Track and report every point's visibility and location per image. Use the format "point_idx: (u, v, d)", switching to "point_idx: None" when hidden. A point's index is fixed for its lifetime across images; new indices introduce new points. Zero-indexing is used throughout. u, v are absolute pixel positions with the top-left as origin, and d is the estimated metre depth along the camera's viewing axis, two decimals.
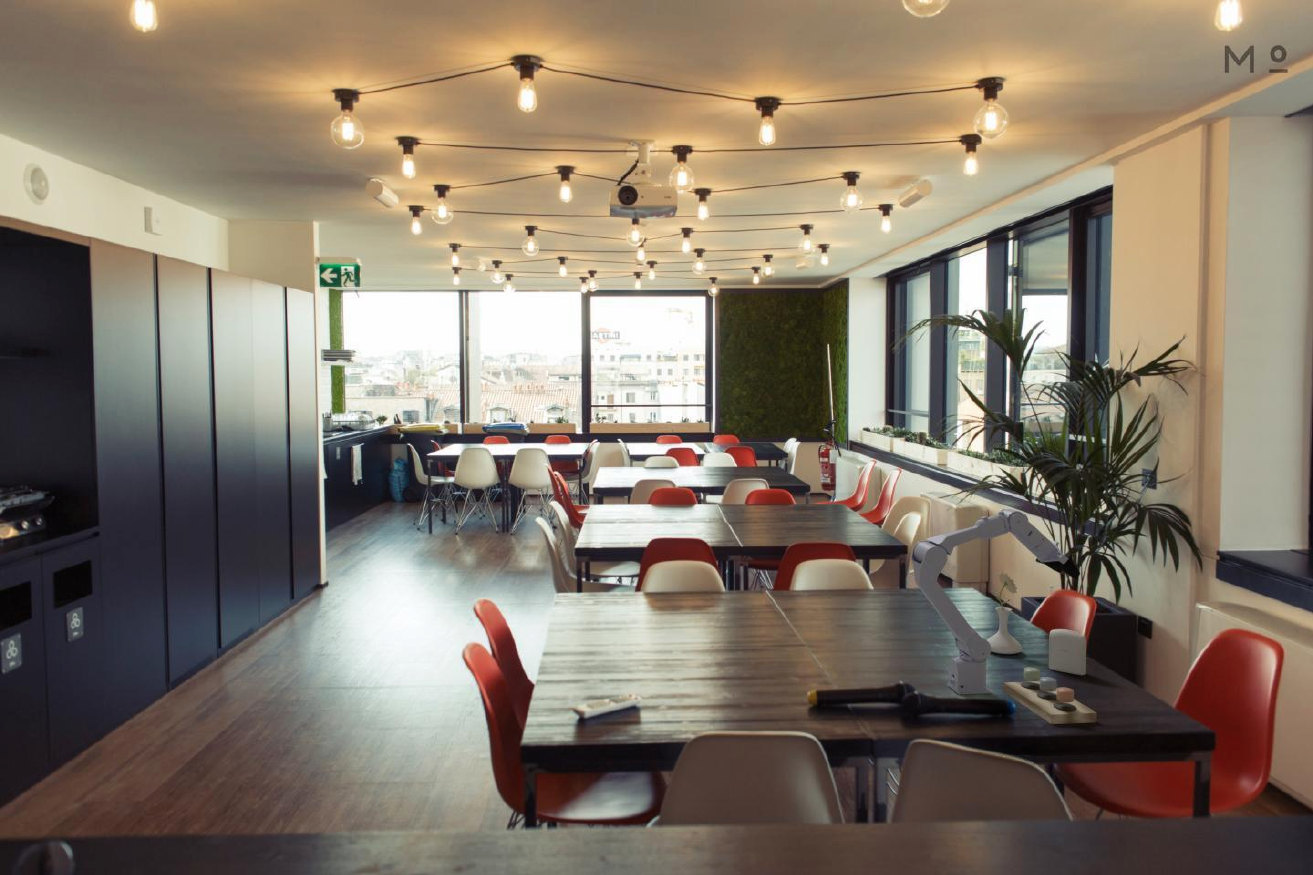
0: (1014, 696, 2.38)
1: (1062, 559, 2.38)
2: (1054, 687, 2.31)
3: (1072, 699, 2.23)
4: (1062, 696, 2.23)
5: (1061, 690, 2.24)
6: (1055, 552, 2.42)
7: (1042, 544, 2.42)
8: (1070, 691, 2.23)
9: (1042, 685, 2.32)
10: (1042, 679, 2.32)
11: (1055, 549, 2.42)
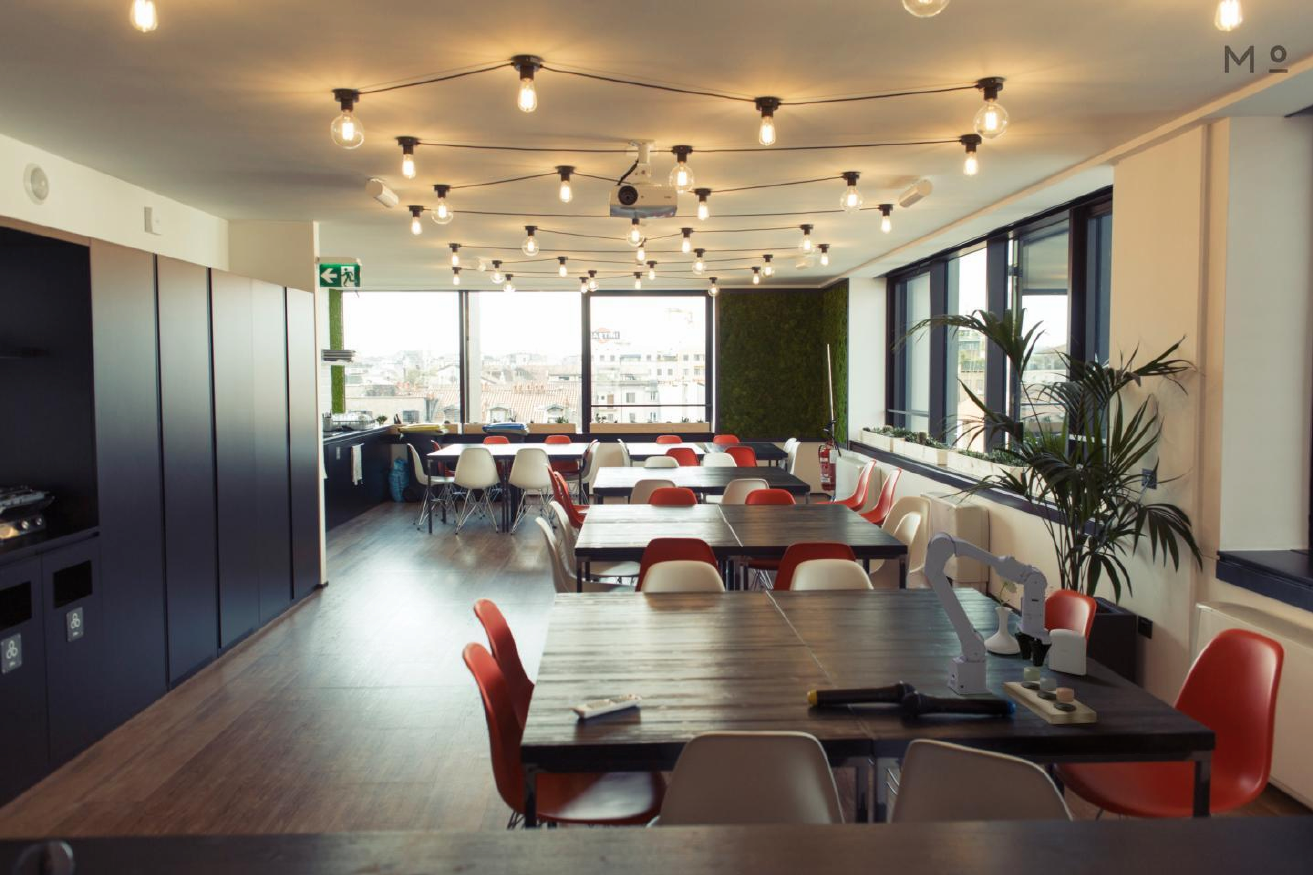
0: (1014, 696, 2.38)
1: (1046, 639, 2.32)
2: (1054, 687, 2.31)
3: (1072, 699, 2.23)
4: (1062, 696, 2.23)
5: (1061, 690, 2.24)
6: (1041, 633, 2.37)
7: (1039, 617, 2.36)
8: (1070, 691, 2.23)
9: (1042, 685, 2.32)
10: (1042, 679, 2.32)
11: (1043, 632, 2.37)
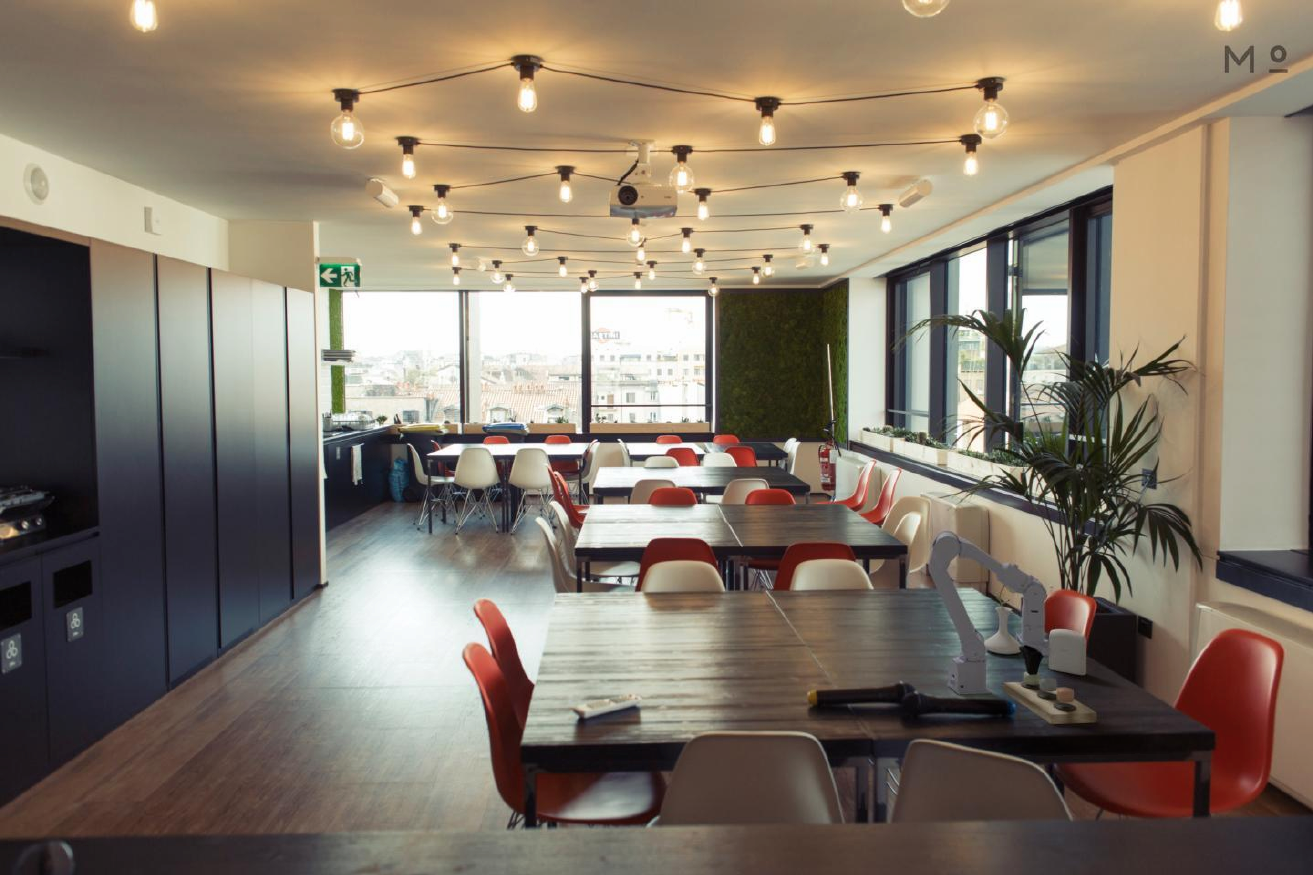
0: (1014, 696, 2.38)
1: (1046, 651, 2.32)
2: (1054, 687, 2.31)
3: (1072, 699, 2.23)
4: (1062, 696, 2.23)
5: (1061, 690, 2.24)
6: (1041, 644, 2.37)
7: (1038, 629, 2.37)
8: (1070, 691, 2.23)
9: (1042, 685, 2.32)
10: (1042, 679, 2.32)
11: (1043, 643, 2.37)
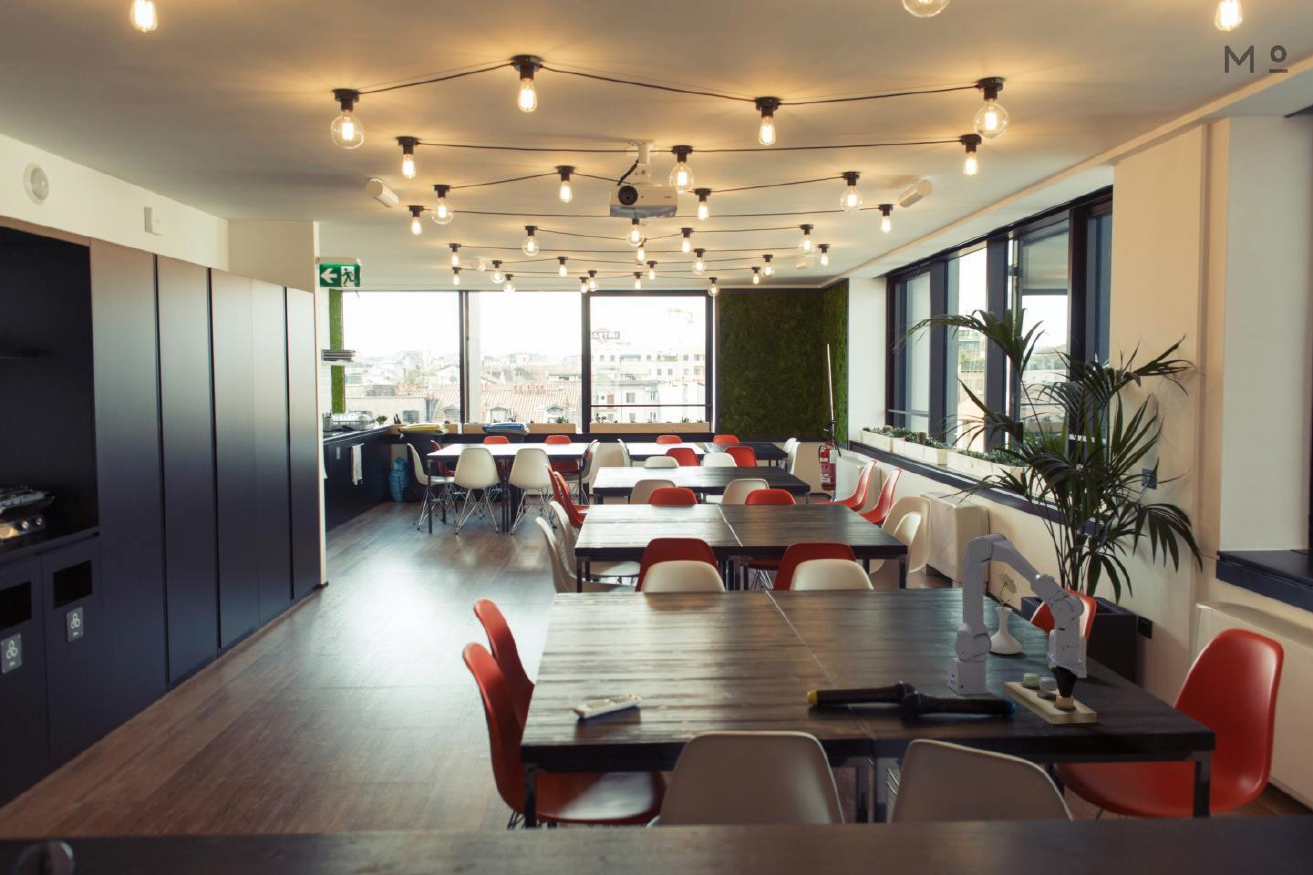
0: (1014, 696, 2.38)
1: (1081, 672, 2.17)
2: (1054, 687, 2.31)
3: (1072, 705, 2.23)
4: (1061, 702, 2.23)
5: None
6: (1076, 665, 2.21)
7: (1073, 648, 2.21)
8: (1070, 697, 2.23)
9: (1042, 685, 2.32)
10: (1042, 679, 2.32)
11: (1077, 664, 2.21)
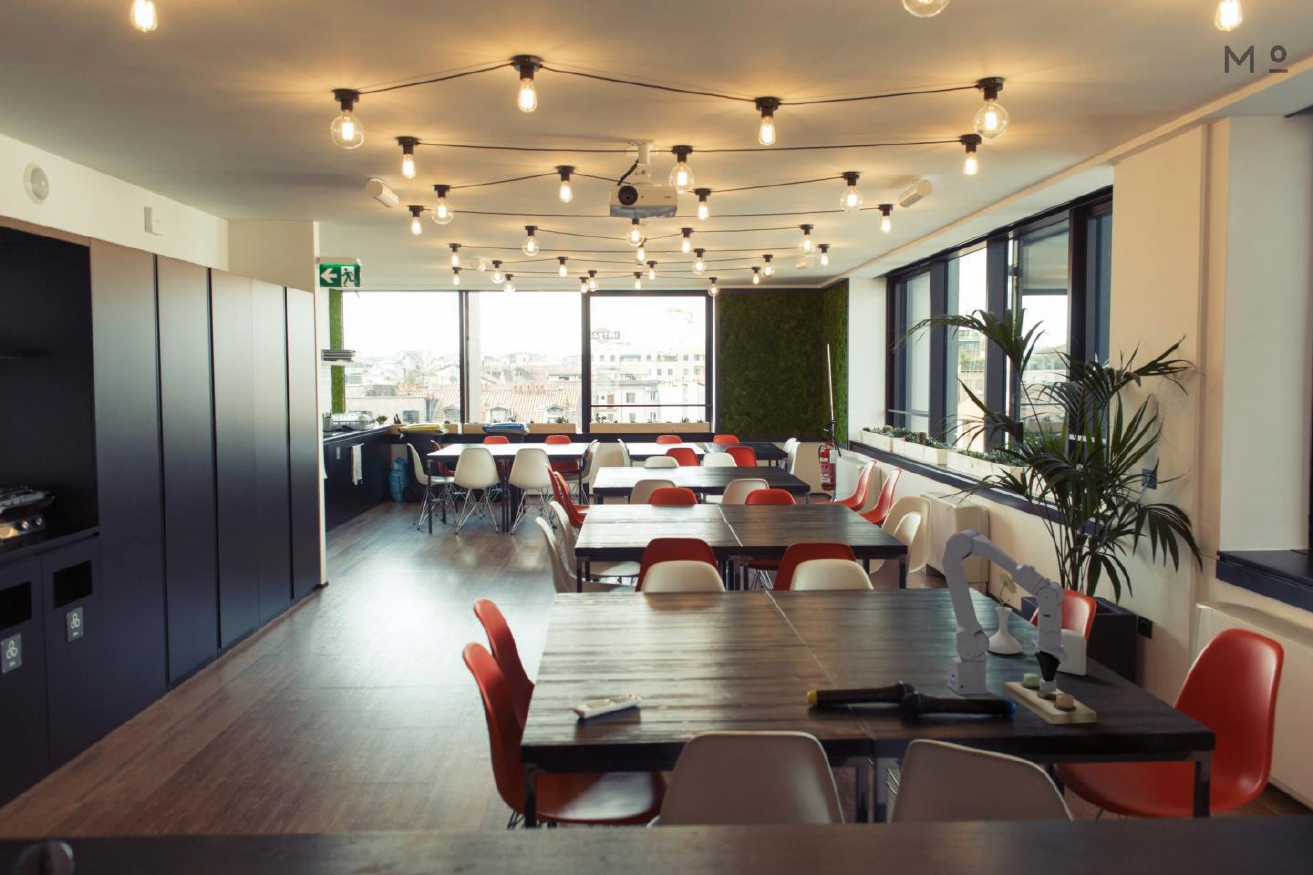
0: (1014, 696, 2.38)
1: (1063, 657, 2.24)
2: (1054, 688, 2.31)
3: (1072, 705, 2.23)
4: (1061, 702, 2.23)
5: (1061, 696, 2.24)
6: (1058, 650, 2.29)
7: (1055, 634, 2.29)
8: (1070, 697, 2.23)
9: (1042, 686, 2.32)
10: (1042, 680, 2.32)
11: (1060, 648, 2.29)
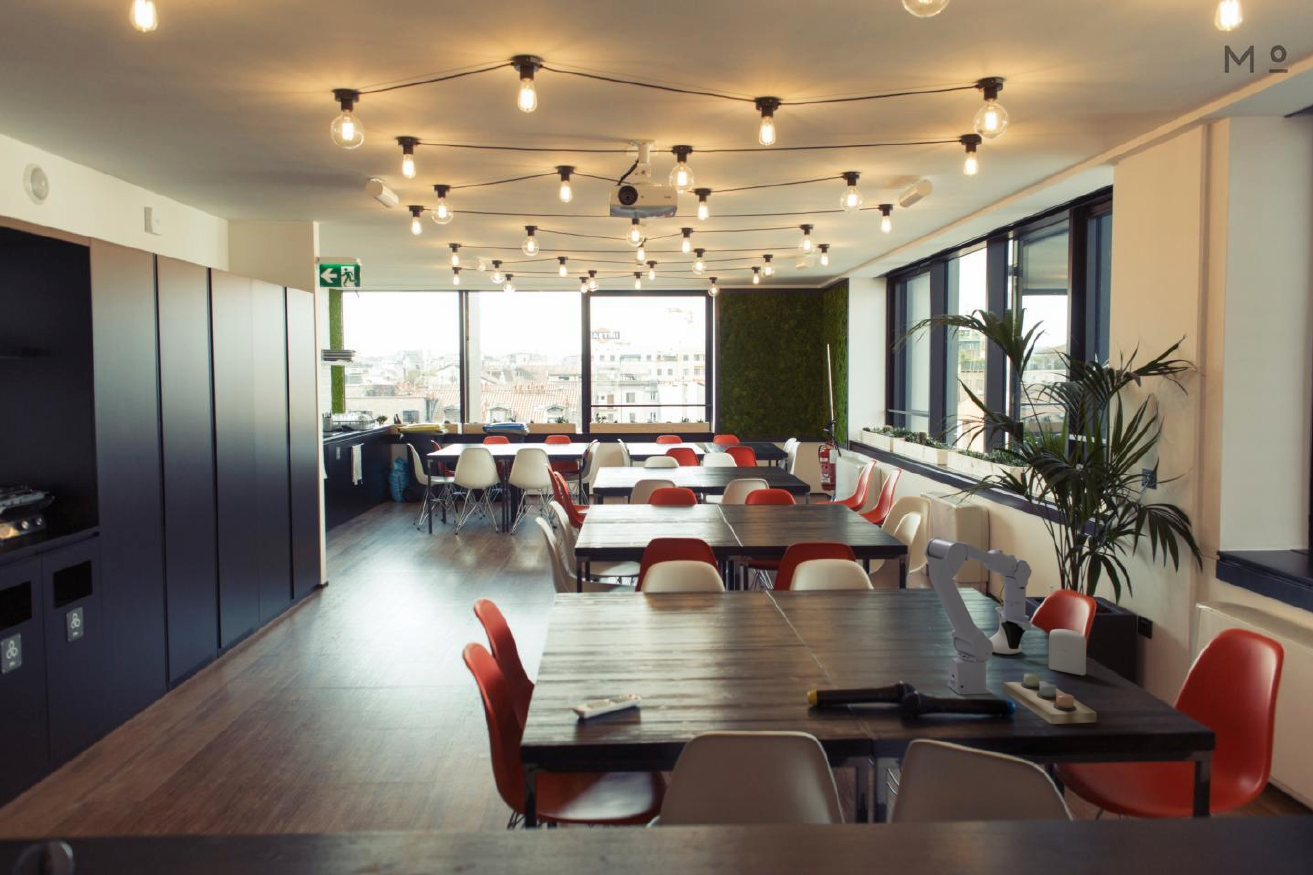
0: (1014, 696, 2.38)
1: (1026, 625, 2.42)
2: (1054, 693, 2.31)
3: (1072, 705, 2.23)
4: (1061, 702, 2.23)
5: (1061, 696, 2.24)
6: (1022, 620, 2.46)
7: (1020, 605, 2.46)
8: (1070, 697, 2.23)
9: (1041, 691, 2.32)
10: (1042, 685, 2.32)
11: (1024, 618, 2.47)
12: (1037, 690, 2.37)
